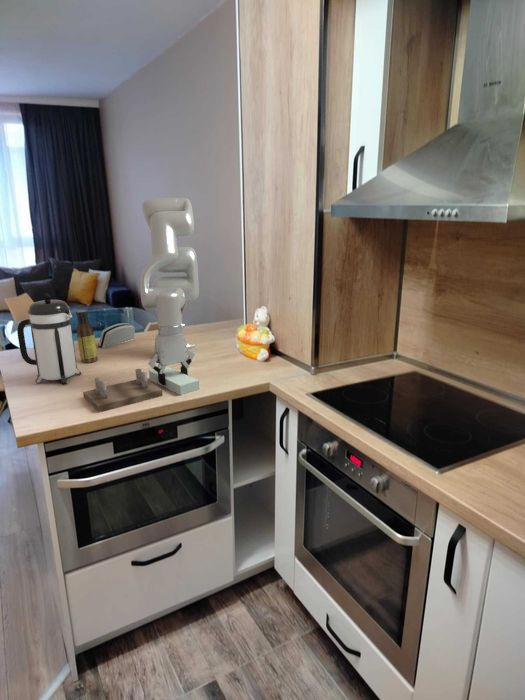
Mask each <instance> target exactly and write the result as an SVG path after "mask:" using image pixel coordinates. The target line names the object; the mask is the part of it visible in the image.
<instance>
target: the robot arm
mask: <svg viewBox="0 0 525 700" xmlns="http://www.w3.org/2000/svg"><path fill="white" fill-rule="evenodd" d="M141 210H142V214H143V217H144V220H145V223H146V224H147V226H148V228H149V230H150V239H151V240H150V241H151V254H152V255H151V256H152V257H151V259H150V260H149V261H148V262H147V263H146V265H145V266H144V268H143V270H142V272H141V276H140V282H139V284H140V299H141V301H140V302H141V305H142V307H143V308H144V309H145V311H149V312H150V311H151V312H152V311H154V312H155V311H156V318H157V319H156V321H157V334H155V339H154V356H153V357H152V358H151V359H150V360H149V361H148V363H147V364H148V365H149V367H150V368H151V369H154V370H155V371H157V372H158V380H159V382H160V383H161V384H162V385H165V384H166V381H165V374H164V373H163V372H164V369H165V367H166V366H172V365H175V364H180V365H181V366H180V368H179V369H180V372H181V373H184V374H186V375H188V376H189V372H188V370H189V369H188V368H189V367H190V364H191V363H192V360H193V359H194V357H195V353H194V352H192V351H190V350H191V349H195V348H196V344H195V343H194V342H193V343H188V342H187V341H186V337H185V334H184V333H185V332H184V329H185V328H186V324H185V323H183V313H182V310H181V309H183V307H184V305H185V304H186V302H187V301H189V302H190V301H195V300H197V299H198V298H199V296H200V283H199V282H200V279H199V265H198V256H197V255H198V254H197V252H196V250H195V249H194V248H193V247H191V246H178V238H177V237H191V236H192V235H193V233H194V231H195V218H194V217H195V216H194V212H193V205H192V202H191V201H190V199H189V198H187V197H151V198H148V199H145V200H144V201H143V202H142V208H141ZM156 271H158V272H159V273H165V274H166V273H168V274H169V273H171V274H173V273H184V274H186V275H170V276H169V275H168V276H167V275H166V276H159V277H156V278H155V279H154V280H153V282H152V287H150V279H151V277H152V275H153V274H154V273H155V272H156ZM156 364H158V365H156Z"/></svg>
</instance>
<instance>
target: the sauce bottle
mask: <svg viewBox="0 0 525 700" xmlns="http://www.w3.org/2000/svg"><path fill="white" fill-rule="evenodd" d="M75 314H76V316H77V326H76V329H75V330H76V331H75V332H76V337H77V344H78V350H79V355H80V356H79V357H80V359H81V363H85V364H89V363H91V364H92V363H94V362H97V361H98V359H99V358H98V348H97V343H96V338H95V337H96V336H95V331H94V330H93V327H92V325H91V323H90V321H89V320H90V319H89V311H88V310H87V309H82V310H76V313H75Z"/></svg>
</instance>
